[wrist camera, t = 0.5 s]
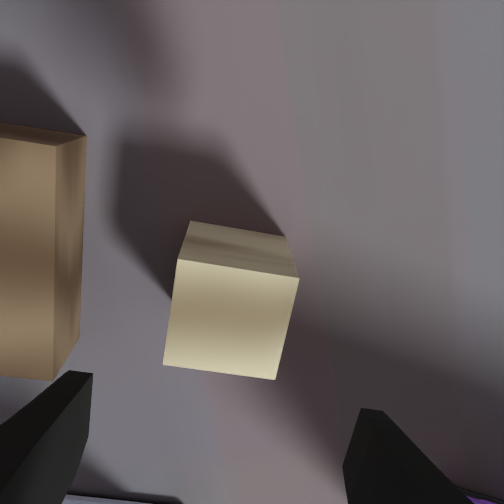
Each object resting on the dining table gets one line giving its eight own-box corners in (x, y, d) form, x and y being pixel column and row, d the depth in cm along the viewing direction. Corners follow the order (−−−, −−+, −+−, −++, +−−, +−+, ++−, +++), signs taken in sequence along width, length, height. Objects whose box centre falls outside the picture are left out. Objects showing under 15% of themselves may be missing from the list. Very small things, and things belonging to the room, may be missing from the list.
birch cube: (266, 319, 23) (274, 380, 18) (177, 306, 22) (162, 364, 18) (285, 236, 21) (299, 278, 17) (190, 220, 21) (177, 258, 16)
